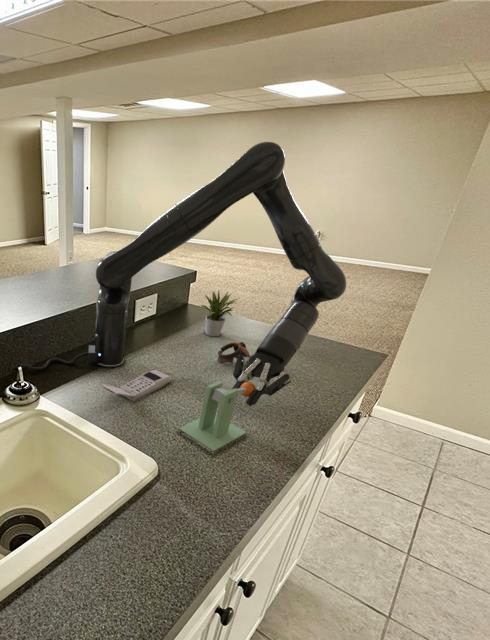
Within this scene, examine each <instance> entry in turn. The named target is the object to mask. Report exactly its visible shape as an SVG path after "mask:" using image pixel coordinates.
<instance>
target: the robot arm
mask: <svg viewBox="0 0 490 640" xmlns="http://www.w3.org/2000/svg"><path fill="white" fill-rule="evenodd" d="M285 163H286V156H285V152H284V149H283V148H282V146H281V145H280V144H278V143H276V142H273V141H261V142H258V143H256V144H254V145H253V146H251V147H250V148H249V149H248V150H246V151H245V152H244V153H243V154H242V155H240V157H239V158H237V159H236V160H235V161H234V162H233V163H232V164H231V165H230V166H229V167H228V168H226V169H225V170H224V171H223V172H221V173H220V174H219V175H217V176H216V177H215V178H214V179H212V180H210V181H209V182H207V183H206V184H205V185H203V186H201V187H199V188H197V189H196V190H195V191H193V192H192V193H190V194H188V195H187V196H186V197H184V198H183V199H181V200H179V201H178V202H177V203H175V204H174V205H173V206H172V207H170V208H168V209H167V210H165V212H163V213H162V214H161V215H160V216H158V217H157V218H156V219H155V220H154V221H152V223H151V224H149V225H148V226H147V227H146V228H144V230H142V232H141V233H140V234H139V235H138V236H137V237H135V238H134V240H132V241H130V242H129V243H128V244H126V245H125V246H123V247H122V248H120V249H118V250H113V251H110V252H108V253H107V254H105V255H104V256H103V257H101V259H100V261H99V262H98V263H97V266H96V268H95V279H96V281H97V283H98V285H99V290H98V294H97V298H96V312H95V328H94V341H93V342H94V343H93V345H92V344H91V345H90V344H89V345H88V348H87V349H88V350H87V351H85V352H82V353H79V354H78V355H76V356H74V358H73V359H72V360H69V361H68V360H64V359H62V358H59V357H53V358H50V359H48V360H47V361H46V362H45V364H43V366H39V367H37V366H32V365H29V364H26V363H19V364H20V366H22V367H21V368H25V369H29V370H33V371H42V370H45V369H47V367H48V366H49V364H50V363H52V362H59V363H62V364H65V365H73V364H74V363H75V362H76V361H77V360H78V359H79V358H82V357H85V356H87V358H88V359H87V360H88V362H93V364H94V365H95V366H99V367H103V368H118V367H120V366H122V365H123V363H124V361H125V360H124V359H125V349H126V348H125V346H126V345H125V344H126V333H127V323H128V312H129V311H128V309H129V304H130V303H129V302H130V297H131V291H132V290H131V289H132V279H133V277H135V276H136V275H137V274H138V273H139V272H140V271H141V270H143V269H144V268H146V267H148V266H149V265H150V264H151V263H153V262H155V261H157V260H159V259H160V258H162V257H164V256H166V255H168V254H170V253H171V252H173V251H175V250H176V249H177V248H179V247H181V246H182V245H184V244H186V243H187V242H188V241H190V240H191V239H193V238H195V237H196V236H197V235H199V234H201V232H203V231H204V230H205V229H207V228H208V227H209V226H210V225H211V224H212V223H214V221H216V219H218V218H219V217H220V216H221V215H222V214H223V213H224V212H225V211H227V210H228V209H229V208H230V207H232V206H233V205H234V204H236V203H238V202H239V201H241V200H243V199H244V198H246V197H248V196H250V195H251V194H253V195H254V196H255V198H256V200H258V202H259V203H260V205H261V206H262V208H263V209H264V211H265V213H266V215H267V216H268V219H269V221H270V223H271V225H272V227H273V229H274V231H275V234H276V236H277V238H278V241H279V243H280V245H281V247H282V249H283V251H284V254H285V255H286V257H287V259H288V261H289V263H290V265H291V266H292V268H293V269H294V270H296V271H304V272H305V273H306V274H307V275H308V276H306V277H305V278H304V279H302V281H300V283H299V284H298V285H297V287H296V289H295V290H294V293H293V295H292V298H291V301H290V303H289V306H288V307H287V309H285V311H284V312H283V314H282V315H281V317H280V318H279V319H278V321H277V322H276V323H275V324H274V325H273V326H272V327H271V328H270V330H269V331H268V333H267V334H266V336H265V338H264V339H263V340H262V341H261V343H260V344H259V346H257V348H256V350H255V352H254V353H253V354H251V355H250V357H243V356H242V355H238V357H237V359H236V361H235V365H234V369H233V372H232V376H233V377H234V379H235V380H236V382H235V384H234V385H233V386H232V387H231V389H230V390H232V389H234V388H235V389H237V388H240V386H241V385H242V384H243V383H245V382H250V381H252V380H253V379H254V378H258V379H259V381H258V383H257V386H256V390H255V389H254V391H253V392H252V394H251V395H250V396H249V397H247V399H246V401H245V403H246V406H248V407H252V406H254V405H256V404H257V402H258V401H259V400H260V398H261V397H262V396H263V395H267V396H269V397H271V396H273V395H274V394H276V393H277V392H279V391H280V390H282V389H283V388H284V387H286V386H287V385H289V384H290V383H291V382H292V378H291V376H290V374H289V373H287V372H285V367H286V366H287V365H288V363H290V361H291V360H292V358H293V357H294V355H295V354H296V353H297V351H298V350H299V349H300V348H301V346H302V344H303V343H304V341H305V339H306V338H307V335H308V334H309V333H310V332H311V330H312V328H313V327H314V326H315V324H316V323H317V320H319V316H320V312H319V309H317V307H318V306H319V304H321V303H324V302H329V301H334V300H337V299H338V298H340V297H342V296H343V295H344V293H345V292H346V289H347V279H346V275H345V273H344V271H343V270H342V268H340V266H339V265H338V264H337V263H336V262H335V261H334V260H333V259H332V257H331V256H330V255H329V254H328V253H327V252H326V251H325V250H324V249H323V247H322V245H321V242H320V241H319V239H318V237H317V235H316V233H315V230H314V229H313V227H312V226H311V223H310V222H309V221H308V218H307V217H306V215H305V214H304V213H303V212H302V210H301V208H300V207H299V205H298V204H297V202H296V200H295V198H294V196H293V195H292V193H291V191H290V188H289V186H288V183H287V179H286V176H285V172H284V169H285ZM248 362H249V367H248V368H246V369H245V370H244V367H247V363H248ZM17 367H18V366H16V367H14V366H13V367H12V368H11V370H16V369H18V368H19V367H18V368H17ZM276 377H277V379H276V380H275V381H273V382H271V380H272V379H274V378H276ZM270 382H271V384H270ZM238 396H239V395H237V397H238Z"/></svg>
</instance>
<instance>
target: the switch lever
mask: <svg viewBox="0 0 490 640" xmlns="http://www.w3.org/2000/svg"><path fill="white" fill-rule="evenodd" d="M254 389H255V390H256V389H257V386H256V385H255V384H254V383H253V382H251V381H248V382H245V383H243V384H242V385H241V386H240V388H237V390H238V393H237V395H238V396H239V395H241V396H243V397H245V398H249V396H250V395H251V394H252V392H253V391H254ZM229 390H230V389H226V388H224V387H222V388H217V389H215V390H214V393H213V396H212V399H214V400H215V401H217V402H218V404H220V400H221V396H222V394H223V393H225V392H227V391H229Z"/></svg>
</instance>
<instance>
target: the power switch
mask: <svg viewBox="0 0 490 640" xmlns="http://www.w3.org/2000/svg"><path fill="white" fill-rule="evenodd" d="M223 384H224V382H223V381H221V380H217V381H215V382H212V383H211V384H209V385H206V388H205V393H204V398H203V402H202V408H201V412H200V417H199V418H197V419H194V420H193V421H191V422H189V423H187V424H183V425H182V426H181V427H179V428H178V429H179V430H180V431H181V432H183V433H184V434H186V435H188V436H189V437H191V438H192V439H193V440H195V441H197V442H198V443H200V444H201V445H203V446H205V447H206V448H208V449H209V450H211V451H212V452H215V451H217V450H220V449H221V448H222V447H224V446H227V445H228V444H230V443H232V442H234V441H235V440H237V439H239V438H240V437H242V436H244V435H246V434H247V433H248V432H247V431H246V430H245V429H242V428H240V427H239V426H237V425H235V424H234V423H232V422H231V421H232V417H233V413H234V409H235V406H236V405H235V404H236V401H237V397H238V396H237V393H238V390H237V389H235V388H234V389H232V388H231V389H232V390H231V389H228V390H229V391H227V392H225V393H223V394H222V396H221V400H220V403H219V402H217V401H215V400H214V399H212V396H213V393H214V390H215V389H217V388H223Z"/></svg>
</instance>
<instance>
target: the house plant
mask: <svg viewBox="0 0 490 640" xmlns="http://www.w3.org/2000/svg"><path fill="white" fill-rule="evenodd" d="M204 296H205V297H206V300H207V301H208V303H209V307H208V306H207V305H205V304H201V305H200V307H202V308H205V309H206V310H208V311H209V313H208V314H207V315H205V328H204V329H205V330H204V332H205V335H207V336H209V337H219V336H220V335H221V333H222V329H223V328H224V325H225V322H226V320H227V319H226V318H225V315H227V314H229V315H230V316H231V317H233V314H232V312H234V310H233V309H234V307H229V305H232V304H233V305H234V303H236V301H238V298H235V299H232V300H229V298H230V297H231V296H232V293H230V294H229V291H227V292H226V293H225V294H224V295H223V297H220V290H219V289H218V290H217V295H216V293H215V291H214V290H212V295H211V296H212V298H211V297H209V296H207V295H206V294H204Z"/></svg>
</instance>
